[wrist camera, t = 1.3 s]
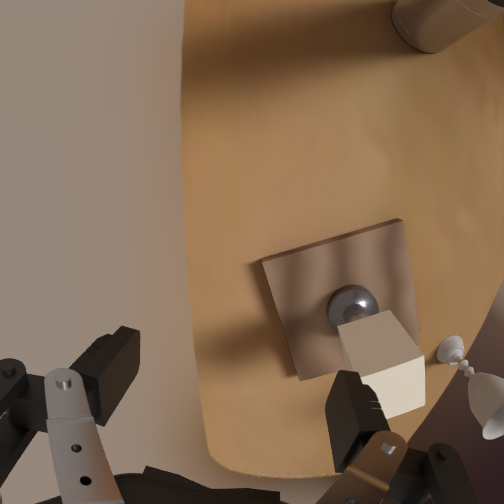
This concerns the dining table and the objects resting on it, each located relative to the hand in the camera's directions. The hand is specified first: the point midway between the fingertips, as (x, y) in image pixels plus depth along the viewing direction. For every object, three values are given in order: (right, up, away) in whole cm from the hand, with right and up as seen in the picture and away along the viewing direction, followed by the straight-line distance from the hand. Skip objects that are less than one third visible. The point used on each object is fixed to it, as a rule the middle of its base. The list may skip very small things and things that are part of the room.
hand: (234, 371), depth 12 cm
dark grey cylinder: (+13, -2, +27) cm, 30 cm away
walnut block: (+13, -2, +29) cm, 32 cm away
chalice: (+32, -11, +30) cm, 45 cm away
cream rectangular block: (+13, -4, +19) cm, 23 cm away
